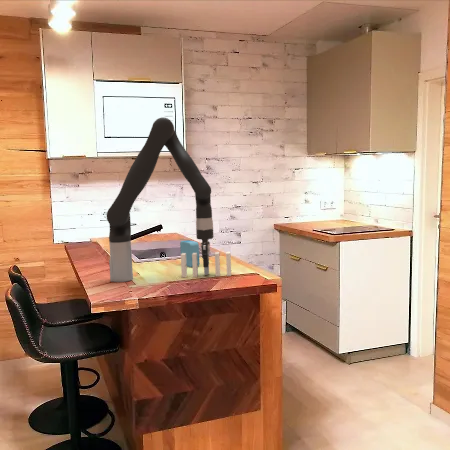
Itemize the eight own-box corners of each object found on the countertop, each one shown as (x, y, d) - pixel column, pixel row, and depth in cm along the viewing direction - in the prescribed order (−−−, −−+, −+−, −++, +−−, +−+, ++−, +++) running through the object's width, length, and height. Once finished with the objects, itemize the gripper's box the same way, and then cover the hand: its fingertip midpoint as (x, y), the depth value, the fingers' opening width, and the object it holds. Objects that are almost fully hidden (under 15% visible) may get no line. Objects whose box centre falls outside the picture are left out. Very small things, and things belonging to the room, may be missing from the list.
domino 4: (215, 276, 222) (214, 253, 221) (216, 274, 227) (215, 252, 226) (219, 276, 222) (218, 253, 221) (220, 273, 227) (219, 251, 226)
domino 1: (181, 277, 223) (180, 255, 222) (183, 275, 228) (181, 253, 227) (185, 277, 223) (184, 254, 222) (187, 274, 228) (186, 253, 227)
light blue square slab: (199, 266, 247) (198, 242, 246) (191, 267, 245) (190, 243, 244) (189, 263, 258) (187, 239, 256) (181, 264, 255) (179, 240, 254)
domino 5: (226, 275, 222) (226, 253, 221) (227, 273, 227) (226, 251, 226) (231, 275, 222) (230, 253, 221) (231, 273, 227) (230, 251, 226)
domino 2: (192, 277, 223) (191, 254, 222) (194, 274, 228) (193, 252, 227) (197, 276, 223) (196, 254, 222) (198, 274, 228) (197, 252, 227)
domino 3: (204, 274, 223) (203, 252, 221) (205, 272, 228) (204, 250, 226) (208, 274, 222) (207, 252, 221) (209, 272, 227) (208, 250, 226)
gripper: (197, 226, 230) (199, 263, 232) (194, 230, 216) (196, 269, 218) (213, 225, 230) (215, 262, 232) (212, 229, 216) (213, 268, 217)
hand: (206, 265), depth 225 cm, fingers closed on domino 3, 4 cm apart
